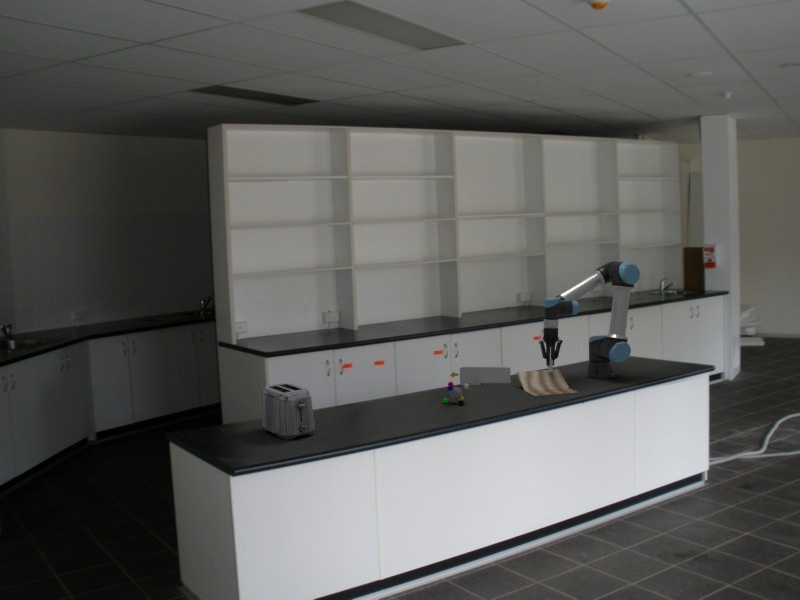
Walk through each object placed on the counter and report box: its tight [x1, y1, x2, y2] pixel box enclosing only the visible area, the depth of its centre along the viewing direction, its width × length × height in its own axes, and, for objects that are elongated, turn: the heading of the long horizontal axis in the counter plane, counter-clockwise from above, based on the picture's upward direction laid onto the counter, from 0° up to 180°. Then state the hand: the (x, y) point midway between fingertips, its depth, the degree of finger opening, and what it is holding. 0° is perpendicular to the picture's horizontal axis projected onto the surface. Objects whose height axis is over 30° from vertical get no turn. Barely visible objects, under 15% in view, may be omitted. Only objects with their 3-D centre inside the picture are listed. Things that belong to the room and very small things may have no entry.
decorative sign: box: [449, 365, 511, 386], centre depth 411 cm, size 32×4×10 cm, turn 82°
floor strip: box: [527, 387, 579, 397], centre depth 385 cm, size 24×10×1 cm, turn 104°
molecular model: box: [442, 381, 470, 407], centre depth 369 cm, size 11×13×10 cm
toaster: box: [261, 382, 316, 441], centre depth 323 cm, size 17×30×19 cm, turn 36°
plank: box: [516, 368, 570, 393], centre depth 395 cm, size 24×14×1 cm
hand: (550, 371), depth 399 cm, fingers closed
